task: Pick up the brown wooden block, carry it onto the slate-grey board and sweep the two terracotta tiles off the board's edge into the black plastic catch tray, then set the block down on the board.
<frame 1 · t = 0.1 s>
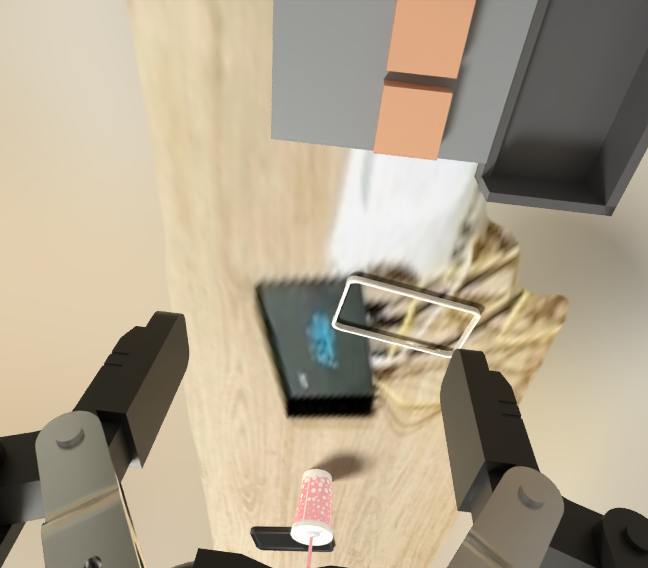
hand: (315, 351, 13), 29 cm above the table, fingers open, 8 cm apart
beverage cup: (317, 475, 71), on the table
tile 2: (409, 117, 35), point 2 cm above the table, touching board
tile 1: (426, 30, 31), point 2 cm above the table, touching board
board: (390, 68, 35), on the table
phone case: (403, 312, 50), on the table
catch tray: (567, 88, 35), on the table
phone: (293, 534, 84), on the table
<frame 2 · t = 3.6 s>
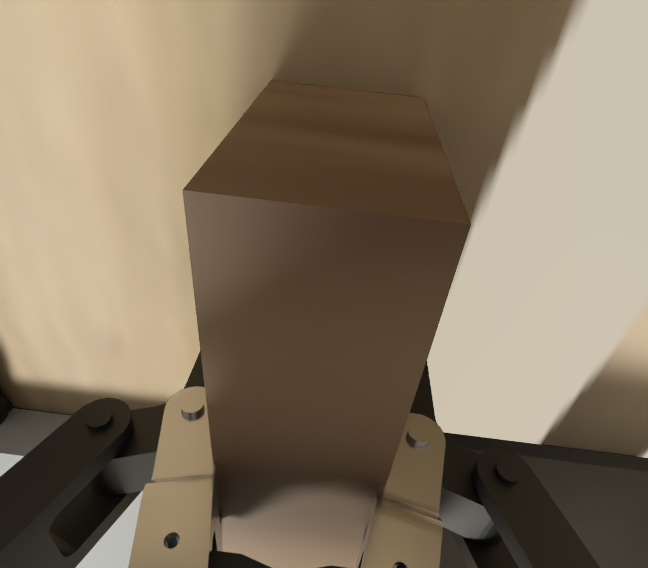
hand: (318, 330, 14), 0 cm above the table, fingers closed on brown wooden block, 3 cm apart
board: (199, 502, 22), on the table
brown wooden block: (321, 318, 14), on the table, touching gripper
catch tray: (478, 538, 22), on the table
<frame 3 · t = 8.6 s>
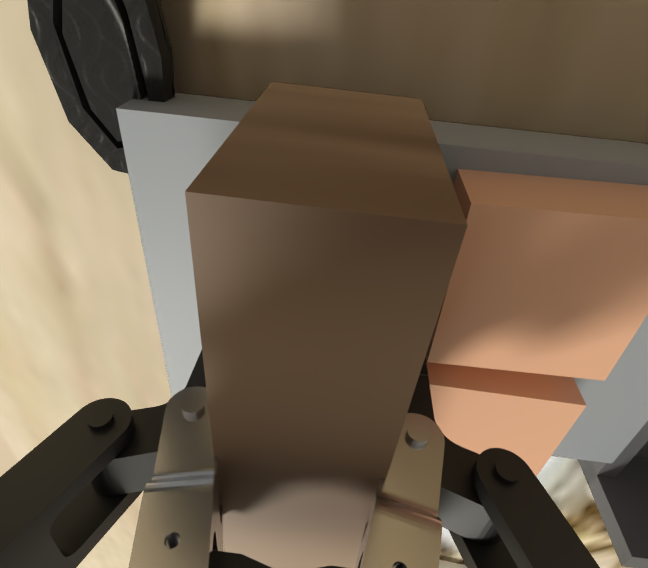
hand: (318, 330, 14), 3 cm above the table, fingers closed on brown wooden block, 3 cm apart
tile 2: (467, 395, 16), point 2 cm above the table, touching board, gripper
tile 1: (524, 259, 13), point 2 cm above the table, touching gripper
board: (416, 290, 16), on the table
brown wooden block: (321, 317, 14), point 2 cm above the table, touching gripper
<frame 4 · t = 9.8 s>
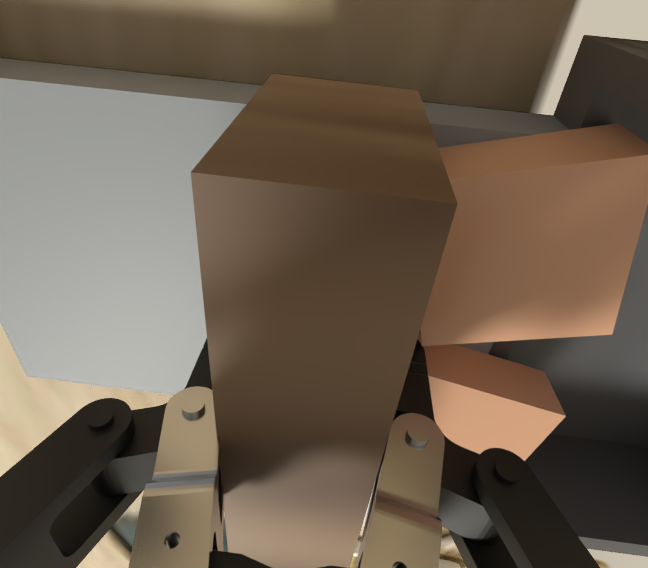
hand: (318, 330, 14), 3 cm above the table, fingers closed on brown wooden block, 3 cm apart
tile 2: (446, 399, 17), point 2 cm above the table, touching gripper
tile 1: (501, 226, 12), point 2 cm above the table, touching board, gripper, brown wooden block
board: (244, 256, 16), on the table
brown wooden block: (320, 306, 15), point 2 cm above the table, touching gripper, tile 1
catch tray: (629, 301, 16), on the table
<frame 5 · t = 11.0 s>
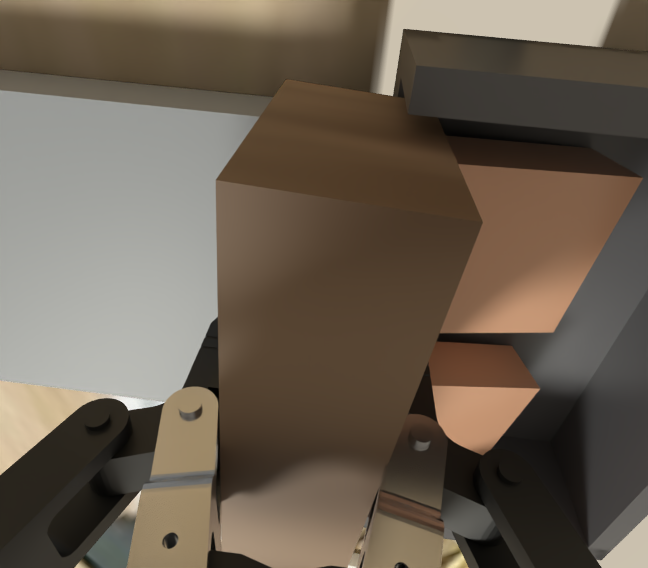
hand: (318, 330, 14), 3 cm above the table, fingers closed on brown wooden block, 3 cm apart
tile 2: (427, 387, 17), point 1 cm above the table, tilted 15°, touching catch tray, gripper
tile 1: (477, 224, 13), point 1 cm above the table, tilted 14°, touching catch tray, gripper
board: (125, 251, 17), on the table
brown wooden block: (321, 312, 15), point 2 cm above the table, touching board, catch tray, gripper
catch tray: (502, 294, 16), on the table
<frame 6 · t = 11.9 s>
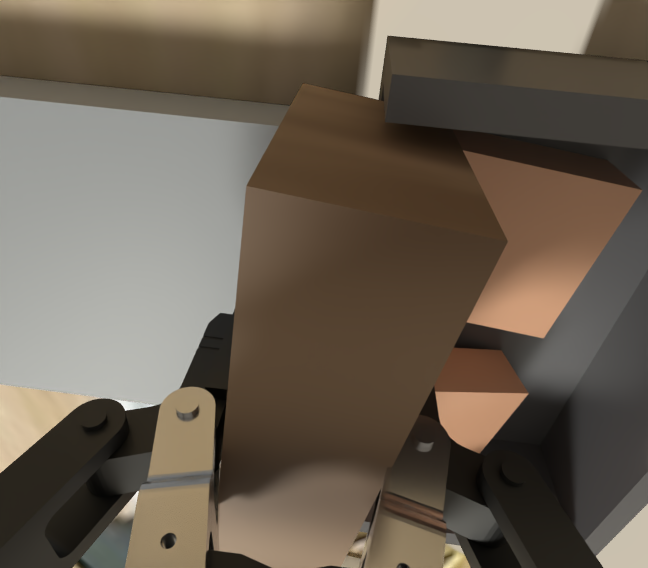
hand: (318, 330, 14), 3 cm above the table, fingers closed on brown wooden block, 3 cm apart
tile 2: (417, 390, 17), point 1 cm above the table, tilted 16°, touching catch tray
tile 1: (484, 219, 14), point 1 cm above the table, touching catch tray, brown wooden block
board: (114, 254, 17), on the table
brown wooden block: (320, 316, 15), point 2 cm above the table, touching board, catch tray, gripper, tile 1
catch tray: (490, 298, 16), on the table
when the fingers open (4 cm above the table, at t = 13.7 s): brown wooden block drops 1 cm, resting on board.
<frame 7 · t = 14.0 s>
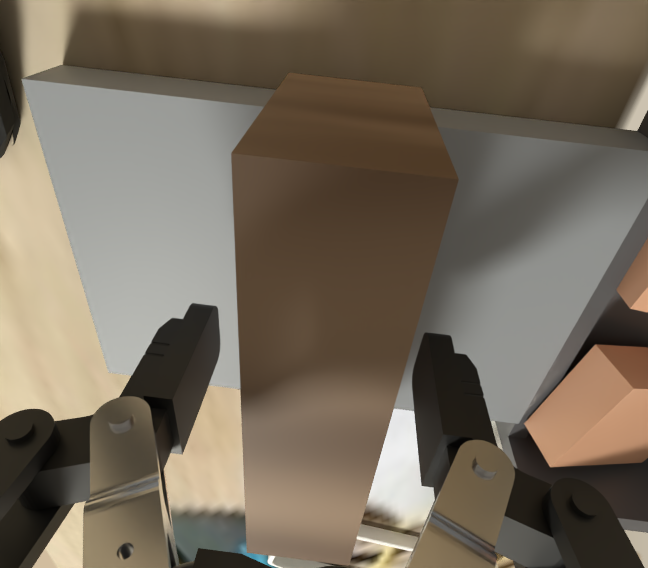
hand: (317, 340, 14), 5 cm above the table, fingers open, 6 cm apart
tile 2: (604, 388, 18), point 1 cm above the table, tilted 16°, touching catch tray
board: (328, 258, 17), on the table
phone case: (378, 544, 33), on the table
brown wooden block: (329, 291, 16), point 2 cm above the table, touching board
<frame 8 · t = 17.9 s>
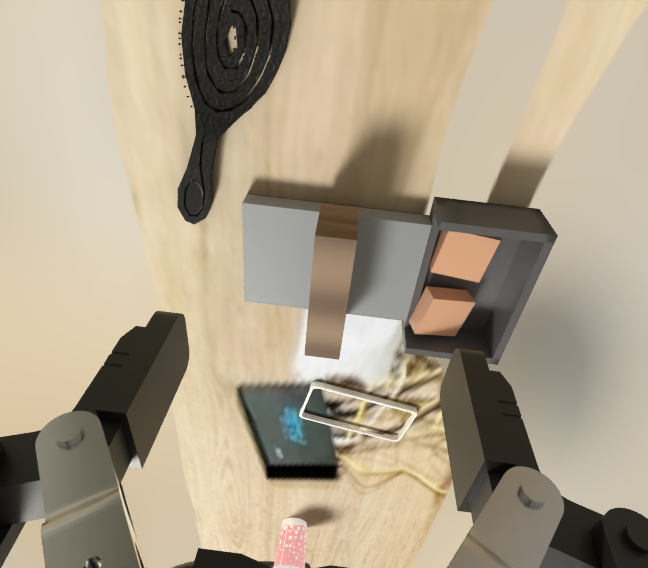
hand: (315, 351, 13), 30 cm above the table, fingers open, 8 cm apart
beverage cup: (295, 522, 83), on the table
tile 2: (437, 305, 48), point 1 cm above the table, tilted 16°, touching catch tray
tile 1: (461, 246, 44), point 1 cm above the table, touching catch tray
board: (332, 255, 47), on the table
phone case: (357, 406, 62), on the table
brown wooden block: (332, 267, 45), point 2 cm above the table, touching board
catch tray: (463, 271, 47), on the table
phone: (276, 567, 96), on the table
hairbrush: (220, 103, 39), on the table
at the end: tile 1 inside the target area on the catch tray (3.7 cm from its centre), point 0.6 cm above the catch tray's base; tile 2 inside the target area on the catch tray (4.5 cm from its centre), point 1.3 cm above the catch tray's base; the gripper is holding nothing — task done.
